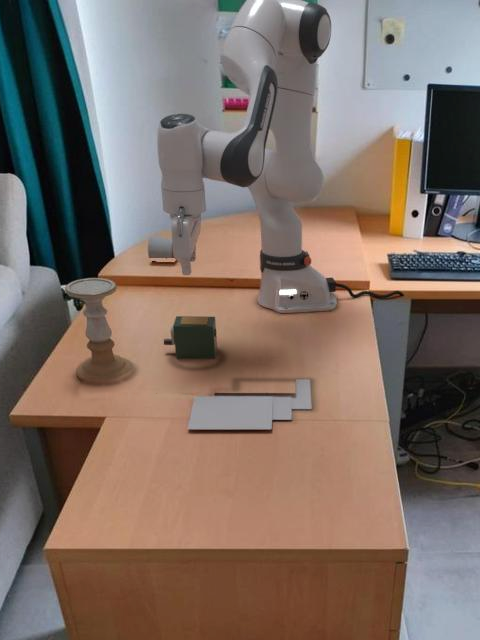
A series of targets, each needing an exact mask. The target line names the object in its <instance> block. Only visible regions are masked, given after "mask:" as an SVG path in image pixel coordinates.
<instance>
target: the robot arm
mask: <svg viewBox="0 0 480 640" xmlns="http://www.w3.org/2000/svg"><path fill="white" fill-rule="evenodd" d="M331 37H332V20H331V16H330V14H329V12H328V10H327V9H326V7H325V6H322V5H321V4H319V3H316V2H314V1H310V2H308V1H305V0H244V1H243V2H242V3H241V5H240V6H239V8H238V12H237V14H236V16H235V17H234V20H233V21H232V23H231V25H230V27H229V29H228V31H227V34H226V37H225V39H224V41H223V43H222V47H221V52H220V62H221V66H222V69H223V71H224V73H225V75H226V77H227V78H228V80H229V81H230V82H231V83H232V84H233V85H234V86H235V87H236V88H237V89H238V90H240V91H241V92H243V93H245V94H246V95H248V96H249V100H248V105H247V109H246V113H245V117H244V120H243V121H244V122H243V126H242V127H241V128H240V129H239V130H238V131H235V132H229V131H221V130H216V129H210V128H208V127H205V126H203V125H202V124H201V123H199V122H198V120H197V118H196V117H195V116H194V115H192V114H189V113H175V114H170V115H166V116H165V117H163V118H162V119H161V120H160V121H159V123H158V128H157V158H158V159H157V160H158V165H159V169H160V171H161V172H160V173H161V181H160V182H161V183H160V187H161V199H162V208H163V209H162V210H163V211H164V212H165V213H167V214H169V218H170V220H171V239H172V245H173V255H174V258H175V259H177V260H179V263H180V266H181V274H182V275H183V276H190V275H191V274H192V265H191V262H195V261H196V259H197V251H196V250H197V242H198V239H199V237H200V234H201V228H202V227H201V226H202V214H203V213H205V212H206V211H207V206H206V189H205V182H204V181H203V180H204V179H207V180H211V181H217V182H222V183H226V184H229V185H233V186H236V187H240V188H247V189H248V190H249V192H250V195H251V197H252V199H253V202H254V204H255V208H256V211H257V215H258V219H259V225H260V226H259V227H260V228H259V229H260V242H261V243H260V244H261V246H260V247H261V249H260V250H259V269H260V273H261V274H260V283H259V284H260V285H259V291H258V296H257V298H256V301H257V303H258V305H260V306H261V307H264V308H266V309H270V310H273V311H275V312H276V313H279V314H291V313H293V314H295V313H311V312H326V311H332V310H334V309H335V308H336V307H337V304H338V302H337V301H338V300H337V296H336V294H335V293H336V292H337V288H341V289H344V290H346V291H347V293H348V294H349V296H350V297H352V298H353V299H356V298H359V297H361V296H363V295H369V296H371V297H372V296H373V297H374V298H378V299H388V298H390V297H393V296H395V295H399V296H400V297H405V294H404V293H403V292H402V291H400V290H393V291H391V292H389V293H387V294H379V293H375V292H373V291H369V290H363V291H362V290H361V291H360V292H358V293H356V294H355V293H354V292H353V291H352V289H351V287H349V286H348V285H345V284H343V283H338V282H336V280H335V279H334V277H325V275H323V274H322V273H321V272H320V271H318V270H317V269H316V268H314V267H313V266H312V265H311V264H312V258H311V257H310V254H309V252H308V250H306V251H305V250H303V223H302V220H301V218H300V217H299V215H298V214H297V212H296V211H295V209H294V207H293V204H292V203H294V204H308V203H310V204H311V203H313V202H315V201H316V200H317V199H318V198H319V196H320V195H321V194H322V190H323V189H324V188H323V187H324V173H323V170H322V169H321V167H320V165H319V164H318V162H317V160H316V158H315V155H314V150H313V145H312V137H311V127H312V126H311V125H312V116H313V108H314V101H315V94H316V85H317V61H318V59H319V58H321V57H322V56H323V54H324V53H325V52H326V50H327V48H328V46H329V45H330V41H331ZM270 131H271V132H272V135H273V137H274V143H275V149H270V148H266V146H267V141H268V137H269V133H270Z"/></svg>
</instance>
